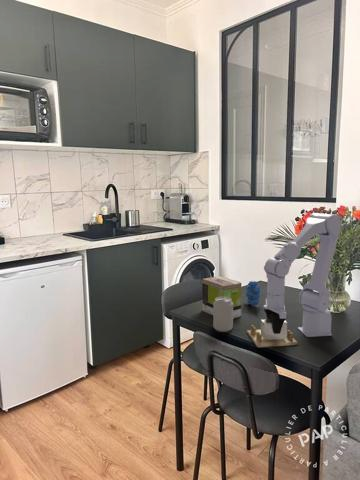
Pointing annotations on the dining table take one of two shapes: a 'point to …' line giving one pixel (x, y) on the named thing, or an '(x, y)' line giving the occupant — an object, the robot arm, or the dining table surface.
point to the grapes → (253, 293)
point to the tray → (261, 342)
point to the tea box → (221, 293)
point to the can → (223, 314)
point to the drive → (268, 330)
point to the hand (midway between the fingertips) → (274, 330)
